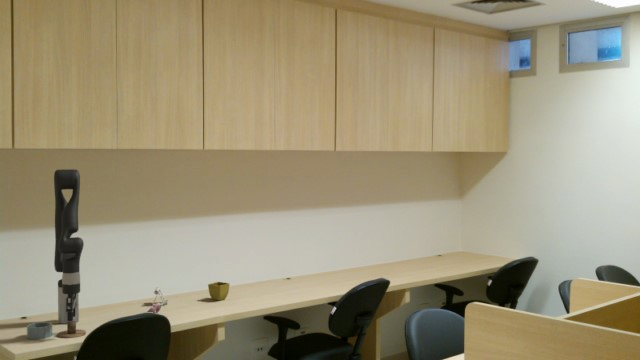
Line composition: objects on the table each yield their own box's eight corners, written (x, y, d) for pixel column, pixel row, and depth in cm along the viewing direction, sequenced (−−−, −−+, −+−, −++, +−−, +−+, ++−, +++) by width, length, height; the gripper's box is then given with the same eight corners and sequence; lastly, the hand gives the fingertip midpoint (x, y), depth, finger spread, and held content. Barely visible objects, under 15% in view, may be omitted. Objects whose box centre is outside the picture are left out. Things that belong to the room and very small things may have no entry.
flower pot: (219, 302, 360) (219, 285, 360) (207, 300, 365) (207, 284, 365) (230, 299, 368) (230, 283, 368) (218, 297, 372) (218, 281, 372)
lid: (63, 331, 299) (63, 318, 299) (89, 331, 299) (89, 318, 299) (52, 338, 287) (52, 325, 287) (80, 338, 287) (80, 325, 287)
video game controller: (150, 321, 323) (156, 309, 323) (142, 317, 324) (148, 304, 323) (158, 316, 333) (164, 304, 332) (150, 312, 334) (156, 300, 333)
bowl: (33, 333, 295) (33, 322, 295) (55, 333, 295) (55, 322, 295) (23, 339, 285) (23, 327, 285) (46, 339, 285) (46, 327, 285)
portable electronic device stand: (167, 305, 352) (167, 290, 351) (152, 306, 350) (152, 290, 350) (168, 302, 360) (168, 287, 360) (153, 302, 359) (153, 287, 359)
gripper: (64, 280, 298) (64, 315, 298) (59, 285, 284) (60, 322, 284) (82, 279, 300) (82, 314, 300) (78, 284, 286) (78, 321, 286)
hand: (71, 318), depth 292 cm, fingers open, 8 cm apart
